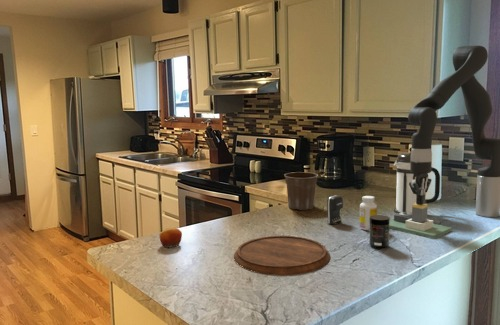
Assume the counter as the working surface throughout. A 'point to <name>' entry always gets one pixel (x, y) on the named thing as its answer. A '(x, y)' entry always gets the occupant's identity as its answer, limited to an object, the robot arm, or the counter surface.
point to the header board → (417, 226)
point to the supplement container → (379, 231)
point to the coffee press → (404, 191)
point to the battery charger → (334, 209)
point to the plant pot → (301, 189)
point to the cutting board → (282, 255)
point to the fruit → (170, 237)
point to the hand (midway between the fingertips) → (419, 204)
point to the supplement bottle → (367, 211)
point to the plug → (419, 213)
